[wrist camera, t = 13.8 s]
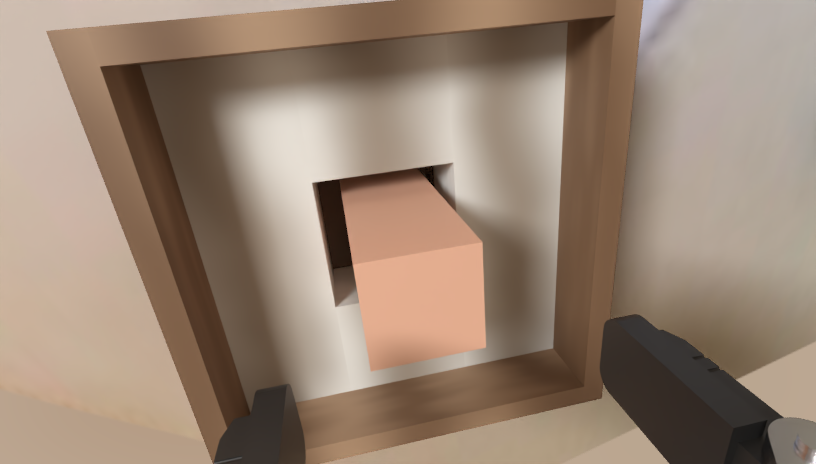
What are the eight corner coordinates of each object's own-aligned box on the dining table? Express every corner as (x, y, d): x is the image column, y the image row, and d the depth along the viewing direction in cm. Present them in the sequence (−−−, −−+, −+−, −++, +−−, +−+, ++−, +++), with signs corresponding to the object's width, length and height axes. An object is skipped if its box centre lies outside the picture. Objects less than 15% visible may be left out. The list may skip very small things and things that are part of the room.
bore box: (544, 3, 20) (645, -22, 14) (536, 319, 27) (601, 398, 21) (143, 41, 18) (46, 31, 12) (246, 377, 25) (221, 486, 19)
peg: (416, 166, 22) (482, 242, 13) (422, 237, 24) (486, 347, 15) (338, 178, 22) (352, 264, 13) (350, 249, 23) (370, 371, 14)
